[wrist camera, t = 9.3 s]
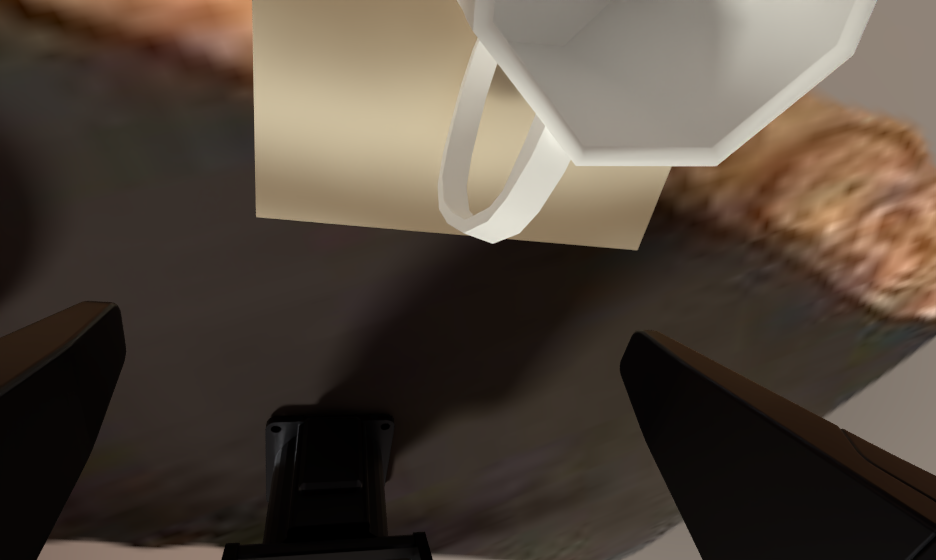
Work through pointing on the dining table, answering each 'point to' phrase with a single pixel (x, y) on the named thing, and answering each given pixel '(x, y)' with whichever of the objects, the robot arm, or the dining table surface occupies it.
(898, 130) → the dining table surface
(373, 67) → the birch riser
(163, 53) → the dining table surface
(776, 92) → the cup
